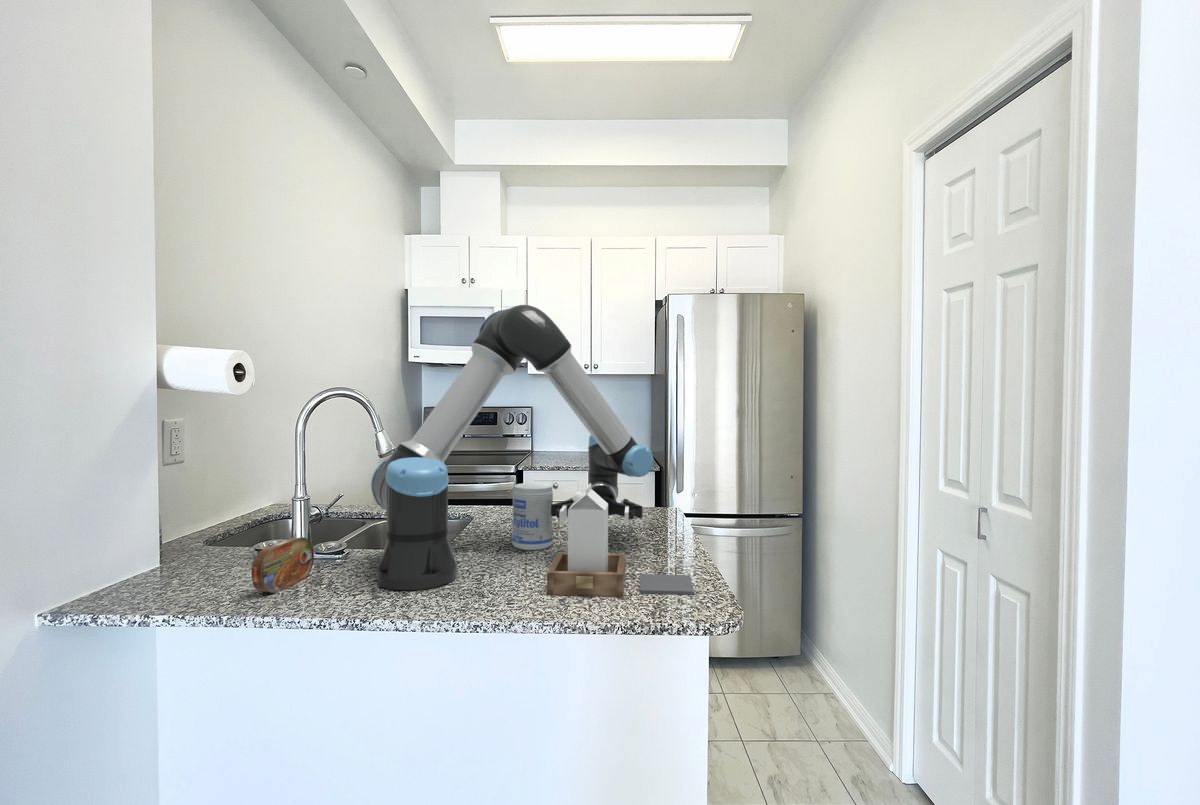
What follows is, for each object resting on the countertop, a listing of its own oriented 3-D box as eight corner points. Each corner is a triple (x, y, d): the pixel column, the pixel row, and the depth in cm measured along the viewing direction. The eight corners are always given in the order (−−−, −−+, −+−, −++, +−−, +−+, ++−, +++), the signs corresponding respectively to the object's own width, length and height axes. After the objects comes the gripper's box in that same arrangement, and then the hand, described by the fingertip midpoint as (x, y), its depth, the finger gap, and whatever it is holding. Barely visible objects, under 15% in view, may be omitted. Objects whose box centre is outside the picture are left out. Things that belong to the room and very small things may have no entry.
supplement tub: (508, 551, 141) (508, 488, 141) (515, 541, 151) (516, 482, 150) (550, 551, 141) (550, 488, 141) (554, 541, 150) (554, 482, 150)
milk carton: (608, 578, 121) (608, 483, 121) (604, 590, 114) (605, 489, 113) (572, 577, 122) (573, 482, 121) (567, 588, 115) (567, 488, 114)
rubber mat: (639, 593, 112) (639, 590, 112) (640, 576, 122) (640, 573, 122) (694, 594, 111) (694, 591, 111) (690, 578, 121) (690, 575, 121)
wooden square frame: (546, 595, 111) (546, 573, 111) (557, 571, 125) (557, 552, 125) (622, 597, 110) (623, 575, 110) (625, 573, 124) (625, 554, 124)
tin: (263, 599, 108) (263, 552, 108) (247, 598, 109) (247, 551, 109) (315, 574, 123) (315, 533, 123) (301, 573, 124) (301, 532, 123)
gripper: (651, 516, 146) (653, 537, 125) (549, 514, 148) (534, 535, 127) (652, 485, 146) (654, 501, 125) (549, 483, 148) (534, 499, 127)
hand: (593, 518), depth 126 cm, fingers open, 13 cm apart
